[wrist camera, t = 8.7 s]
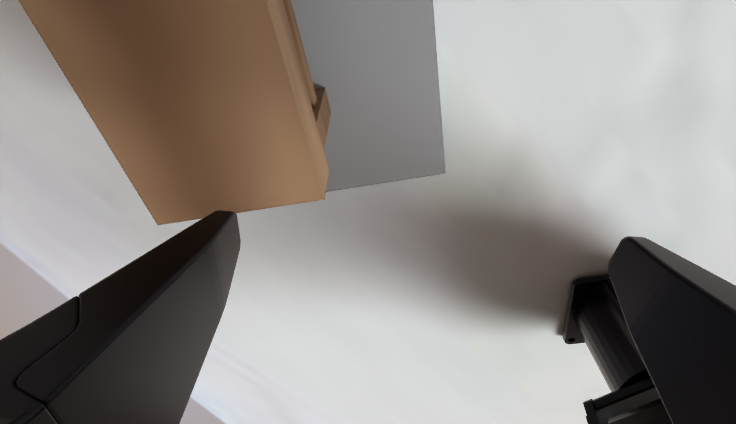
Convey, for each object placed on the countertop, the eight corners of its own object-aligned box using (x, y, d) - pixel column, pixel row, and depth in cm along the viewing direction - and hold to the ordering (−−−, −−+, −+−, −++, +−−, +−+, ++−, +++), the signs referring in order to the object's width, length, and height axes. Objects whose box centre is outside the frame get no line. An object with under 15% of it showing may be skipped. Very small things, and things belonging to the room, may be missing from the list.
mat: (443, 167, 21) (445, 173, 21) (164, 210, 23) (159, 216, 22) (401, -396, 11) (402, -412, 10) (-105, -248, 13) (-124, -255, 12)
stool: (269, -164, 13) (198, -230, 8) (336, 117, 19) (324, 199, 13) (104, -122, 14) (-77, -155, 8) (217, 138, 20) (157, 225, 14)
